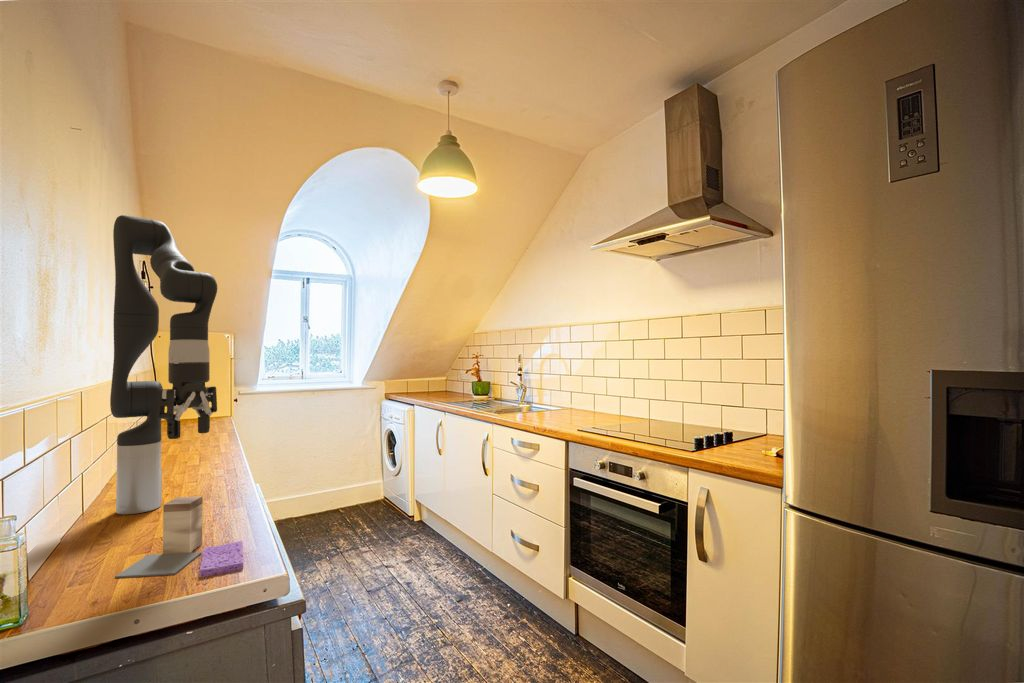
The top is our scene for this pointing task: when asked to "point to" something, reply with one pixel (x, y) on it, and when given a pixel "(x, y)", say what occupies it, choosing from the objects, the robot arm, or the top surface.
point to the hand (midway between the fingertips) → (189, 435)
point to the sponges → (222, 559)
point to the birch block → (182, 525)
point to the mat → (159, 565)
